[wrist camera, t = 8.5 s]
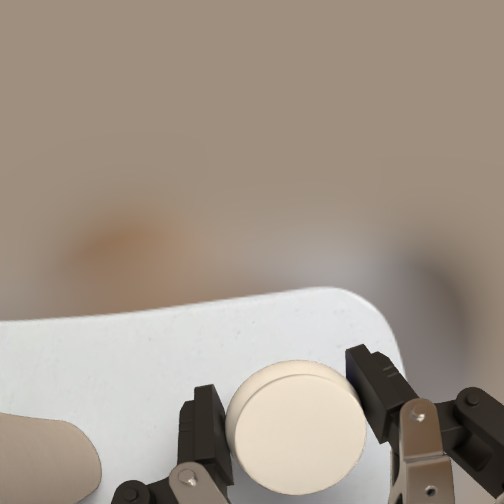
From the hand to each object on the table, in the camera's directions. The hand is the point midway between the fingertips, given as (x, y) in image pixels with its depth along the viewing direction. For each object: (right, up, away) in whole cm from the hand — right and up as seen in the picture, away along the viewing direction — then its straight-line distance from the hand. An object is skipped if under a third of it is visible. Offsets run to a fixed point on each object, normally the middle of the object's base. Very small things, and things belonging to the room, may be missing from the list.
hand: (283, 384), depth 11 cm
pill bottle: (+1, -4, +5) cm, 7 cm away
